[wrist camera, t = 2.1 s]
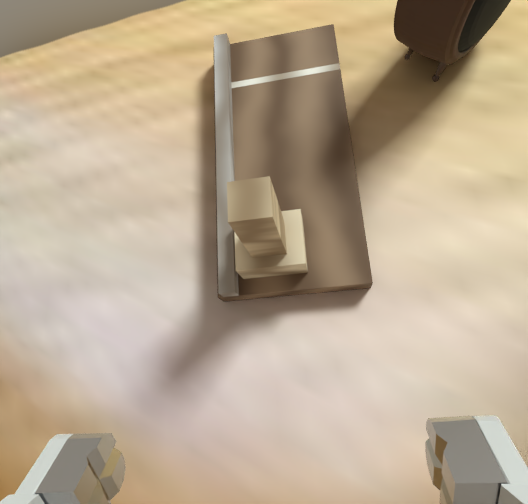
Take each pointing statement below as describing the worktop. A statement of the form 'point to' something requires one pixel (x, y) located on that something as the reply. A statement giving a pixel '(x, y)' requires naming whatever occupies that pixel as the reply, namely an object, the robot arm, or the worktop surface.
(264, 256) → the stacked beige blocks
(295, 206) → the walnut board
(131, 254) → the worktop surface
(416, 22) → the alarm clock
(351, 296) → the worktop surface
